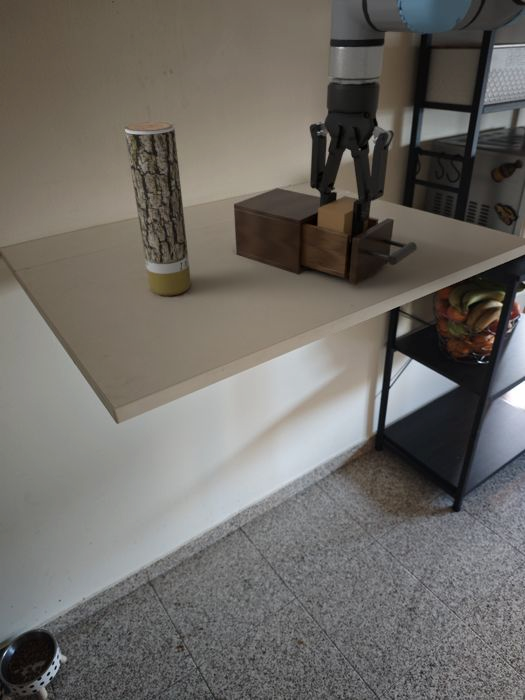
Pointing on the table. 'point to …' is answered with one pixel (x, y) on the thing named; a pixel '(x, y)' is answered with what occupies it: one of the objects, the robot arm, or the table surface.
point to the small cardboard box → (338, 215)
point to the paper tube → (159, 205)
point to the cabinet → (274, 227)
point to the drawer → (351, 249)
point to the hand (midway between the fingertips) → (342, 235)
